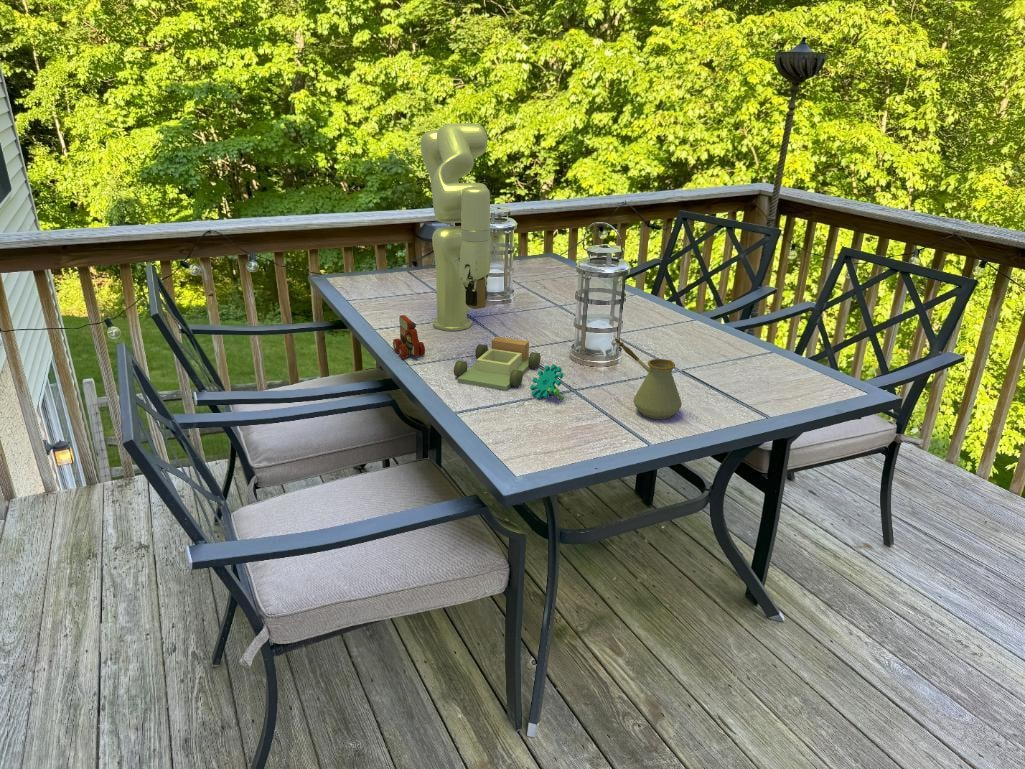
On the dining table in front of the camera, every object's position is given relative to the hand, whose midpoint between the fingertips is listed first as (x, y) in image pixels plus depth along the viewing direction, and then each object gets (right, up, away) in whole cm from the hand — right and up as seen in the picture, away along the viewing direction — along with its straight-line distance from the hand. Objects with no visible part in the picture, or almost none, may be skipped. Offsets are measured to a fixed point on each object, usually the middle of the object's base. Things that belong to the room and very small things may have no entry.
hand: (476, 301), depth 199 cm
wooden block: (0, -2, +1) cm, 2 cm away
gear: (+19, -26, -13) cm, 34 cm away
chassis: (+6, -19, +1) cm, 20 cm away
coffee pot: (+42, -28, -17) cm, 53 cm away
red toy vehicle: (-20, -14, +13) cm, 28 cm away
